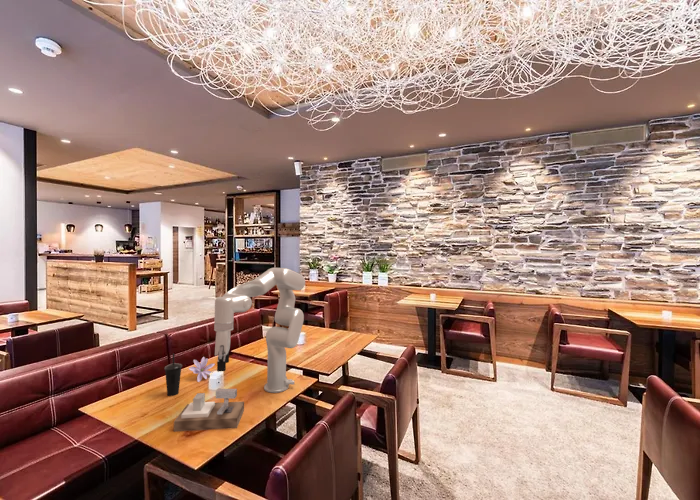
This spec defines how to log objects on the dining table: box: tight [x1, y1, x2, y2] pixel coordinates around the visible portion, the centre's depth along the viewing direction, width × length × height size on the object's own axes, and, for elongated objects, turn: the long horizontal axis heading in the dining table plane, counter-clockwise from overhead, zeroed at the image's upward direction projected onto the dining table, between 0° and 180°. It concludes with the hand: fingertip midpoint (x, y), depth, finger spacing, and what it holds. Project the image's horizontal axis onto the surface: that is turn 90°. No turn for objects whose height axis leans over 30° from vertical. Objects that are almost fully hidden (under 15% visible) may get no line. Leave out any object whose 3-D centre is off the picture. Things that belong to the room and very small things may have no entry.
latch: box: [215, 388, 238, 414], centre depth 130 cm, size 8×8×8 cm
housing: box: [173, 401, 245, 433], centre depth 132 cm, size 24×14×4 cm, turn 97°
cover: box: [181, 392, 216, 418], centre depth 131 cm, size 10×10×6 cm
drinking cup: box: [164, 353, 183, 397], centre depth 155 cm, size 8×8×20 cm
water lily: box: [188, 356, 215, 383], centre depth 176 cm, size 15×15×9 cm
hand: (223, 366), depth 132 cm, fingers open, 9 cm apart
